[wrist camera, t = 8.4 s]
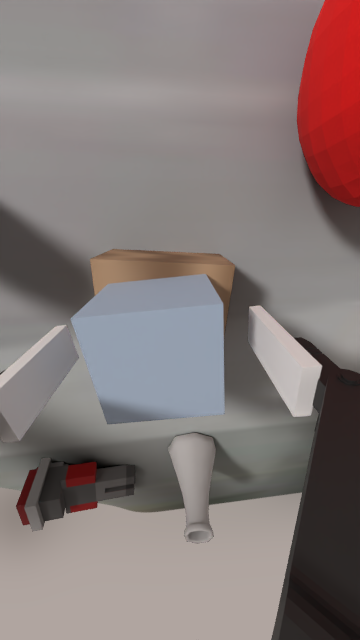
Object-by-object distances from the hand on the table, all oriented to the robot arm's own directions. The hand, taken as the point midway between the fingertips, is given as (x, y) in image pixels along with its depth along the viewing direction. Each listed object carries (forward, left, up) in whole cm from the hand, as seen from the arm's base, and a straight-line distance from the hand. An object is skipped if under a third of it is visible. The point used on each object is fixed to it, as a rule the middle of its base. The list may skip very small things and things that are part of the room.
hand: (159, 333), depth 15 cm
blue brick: (0, 0, -2) cm, 2 cm away
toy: (-16, -28, -8) cm, 33 cm away
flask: (+1, -24, -8) cm, 25 cm away
